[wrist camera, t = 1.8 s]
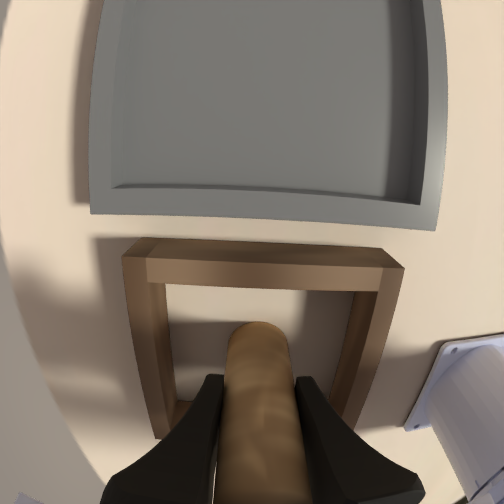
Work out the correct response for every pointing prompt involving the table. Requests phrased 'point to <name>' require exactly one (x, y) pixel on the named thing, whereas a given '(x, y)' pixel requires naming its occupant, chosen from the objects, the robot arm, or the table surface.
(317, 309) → the table surface
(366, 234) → the table surface
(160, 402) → the holder
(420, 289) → the table surface
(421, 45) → the tray
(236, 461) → the pin
